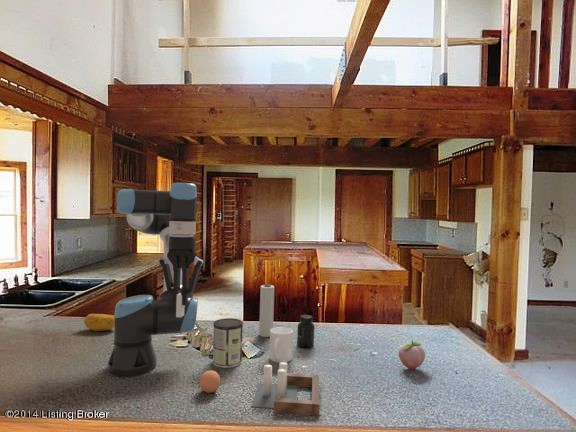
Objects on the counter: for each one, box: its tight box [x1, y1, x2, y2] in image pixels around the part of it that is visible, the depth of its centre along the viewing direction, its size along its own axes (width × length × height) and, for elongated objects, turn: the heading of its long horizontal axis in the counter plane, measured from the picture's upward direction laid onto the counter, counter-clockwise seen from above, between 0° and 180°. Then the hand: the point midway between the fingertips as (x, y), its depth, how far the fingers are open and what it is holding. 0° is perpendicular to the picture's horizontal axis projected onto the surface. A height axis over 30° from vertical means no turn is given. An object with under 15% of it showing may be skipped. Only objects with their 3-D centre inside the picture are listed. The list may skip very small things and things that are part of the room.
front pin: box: [262, 364, 273, 397], centre depth 109 cm, size 2×2×8 cm
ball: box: [199, 370, 221, 394], centre depth 110 cm, size 6×6×6 cm
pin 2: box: [276, 368, 286, 398], centre depth 106 cm, size 2×2×8 cm
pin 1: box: [278, 362, 288, 392], centre depth 111 cm, size 2×2×8 cm
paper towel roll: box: [258, 284, 275, 338], centre depth 162 cm, size 7×6×21 cm
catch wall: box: [273, 372, 321, 417], centre depth 108 cm, size 12×18×3 cm, turn 176°
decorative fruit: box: [398, 340, 426, 371], centre depth 130 cm, size 9×8×10 cm
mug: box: [269, 326, 294, 364], centre depth 135 cm, size 12×8×10 cm
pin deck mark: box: [250, 382, 298, 410], centre depth 109 cm, size 12×14×1 cm
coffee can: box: [212, 317, 244, 369], centre depth 132 cm, size 10×10×14 cm
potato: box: [83, 313, 115, 332], centre depth 161 cm, size 7×14×7 cm, turn 84°
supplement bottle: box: [296, 314, 316, 350], centre depth 150 cm, size 7×7×12 cm
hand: (180, 316), depth 110 cm, fingers closed
